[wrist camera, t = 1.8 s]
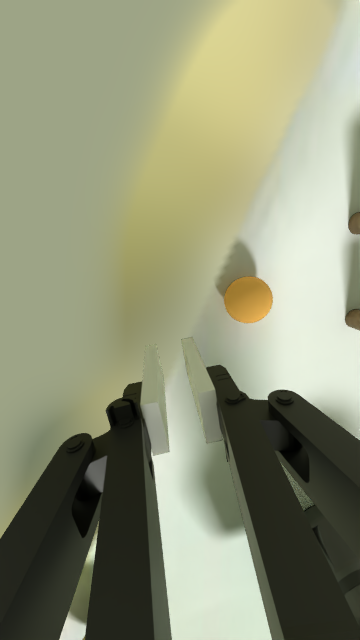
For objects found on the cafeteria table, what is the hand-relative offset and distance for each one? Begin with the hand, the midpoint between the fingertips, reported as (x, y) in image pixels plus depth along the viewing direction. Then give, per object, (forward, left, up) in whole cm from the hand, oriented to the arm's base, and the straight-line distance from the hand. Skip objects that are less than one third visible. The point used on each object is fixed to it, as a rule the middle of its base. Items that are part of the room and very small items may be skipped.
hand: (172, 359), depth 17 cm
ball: (0, -10, -12) cm, 15 cm away
